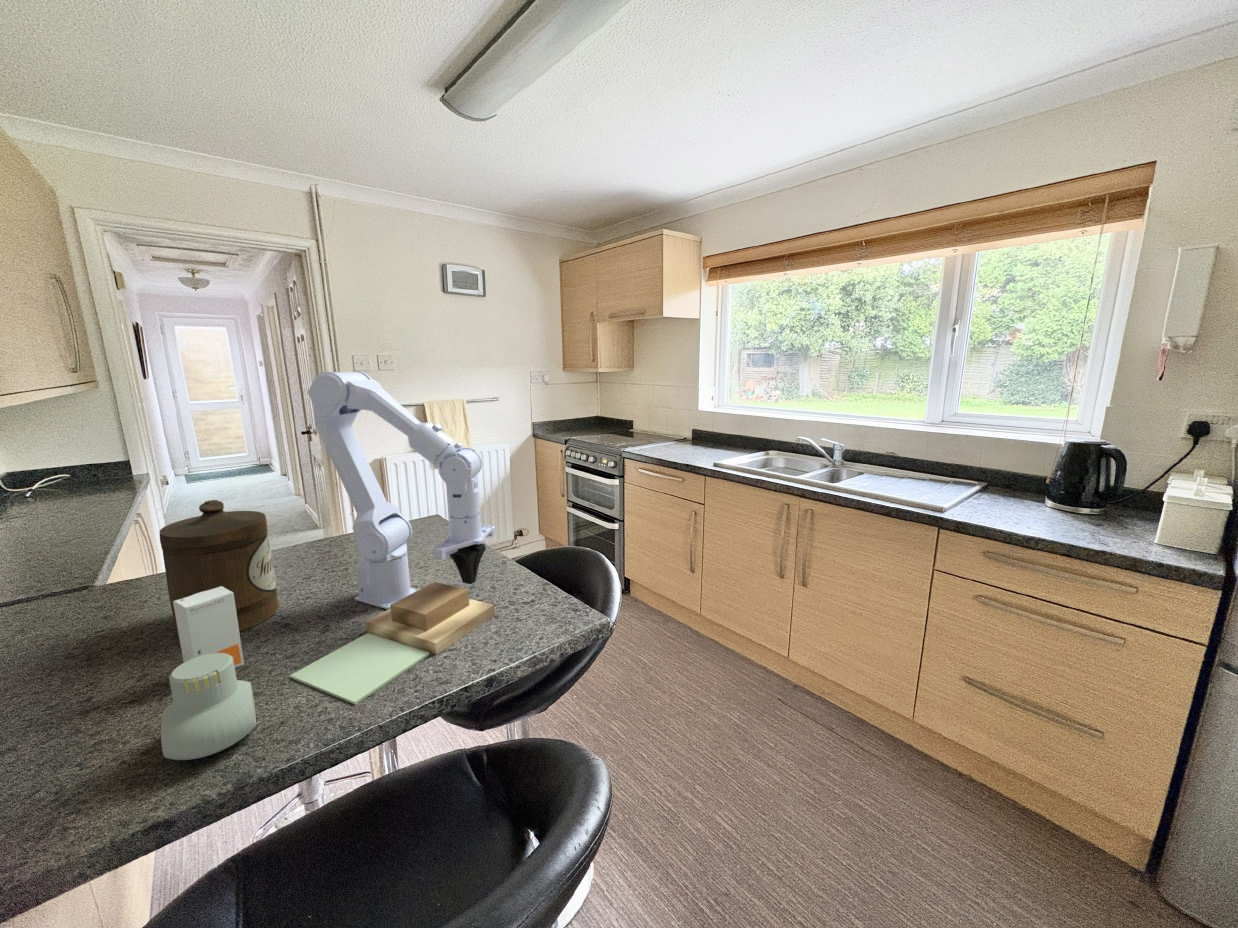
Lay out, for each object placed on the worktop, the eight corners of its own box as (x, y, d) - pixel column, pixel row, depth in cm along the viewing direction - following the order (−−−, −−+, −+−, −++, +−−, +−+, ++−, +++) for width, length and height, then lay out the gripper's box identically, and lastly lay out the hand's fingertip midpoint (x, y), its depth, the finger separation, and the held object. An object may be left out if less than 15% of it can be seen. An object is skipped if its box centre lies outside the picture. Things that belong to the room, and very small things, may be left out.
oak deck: (366, 632, 85) (365, 621, 85) (429, 598, 98) (428, 588, 97) (436, 654, 78) (435, 642, 78) (494, 614, 91) (494, 604, 90)
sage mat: (290, 677, 73) (289, 675, 73) (368, 634, 84) (367, 632, 84) (355, 704, 67) (355, 702, 67) (429, 654, 78) (429, 652, 78)
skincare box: (197, 685, 71) (182, 608, 69) (185, 676, 73) (170, 600, 71) (246, 664, 76) (234, 591, 74) (234, 655, 78) (221, 584, 76)
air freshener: (174, 728, 63) (159, 656, 61) (254, 702, 68) (243, 634, 66) (165, 785, 54) (148, 703, 52) (259, 749, 59) (246, 674, 57)
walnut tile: (391, 620, 85) (390, 604, 84) (436, 596, 94) (435, 581, 93) (426, 631, 81) (425, 614, 81) (469, 605, 90) (468, 589, 90)
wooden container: (289, 616, 91) (272, 499, 86) (182, 650, 80) (157, 519, 76) (268, 592, 101) (251, 486, 96) (170, 619, 90) (147, 501, 86)
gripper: (452, 528, 85) (458, 602, 88) (506, 506, 98) (509, 571, 100) (422, 522, 88) (428, 594, 91) (477, 502, 101) (481, 565, 103)
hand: (469, 582), depth 96 cm, fingers closed
